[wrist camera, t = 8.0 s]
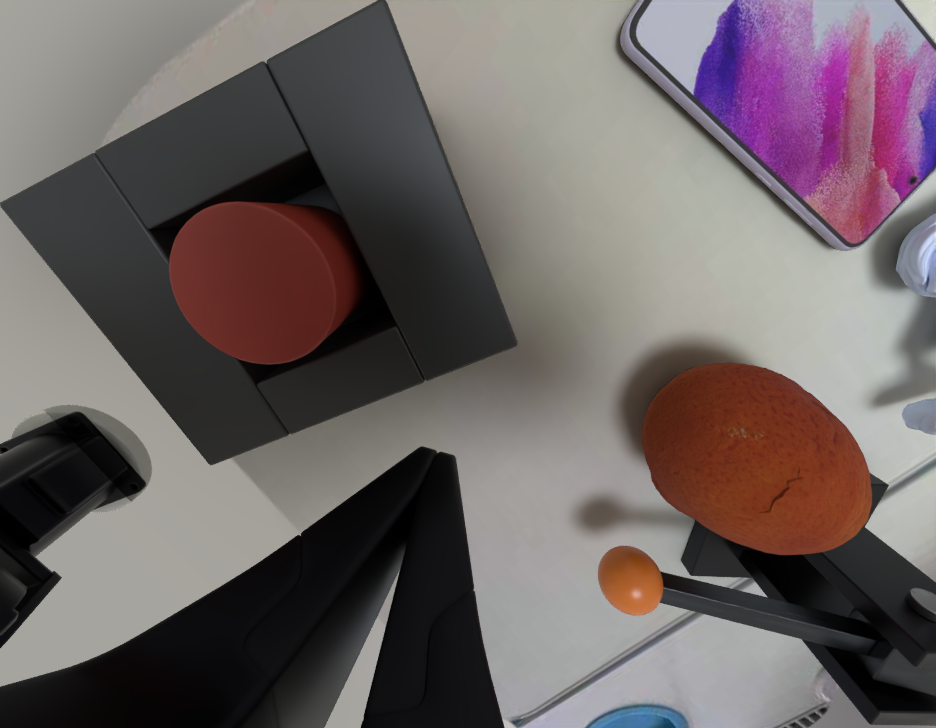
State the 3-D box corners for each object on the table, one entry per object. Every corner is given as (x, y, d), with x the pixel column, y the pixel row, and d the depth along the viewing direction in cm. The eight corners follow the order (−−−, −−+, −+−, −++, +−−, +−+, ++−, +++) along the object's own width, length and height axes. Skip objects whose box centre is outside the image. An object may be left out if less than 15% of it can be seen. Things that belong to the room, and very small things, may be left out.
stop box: (317, 357, 20) (209, 467, 12) (228, 207, 18) (-5, 203, 9) (491, 284, 19) (519, 346, 10) (424, 111, 16) (383, -7, 8)
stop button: (297, 336, 13) (233, 387, 9) (234, 233, 12) (130, 243, 8) (393, 296, 13) (364, 331, 9) (337, 184, 11) (278, 171, 8)
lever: (591, 568, 23) (594, 619, 20) (601, 526, 21) (607, 574, 19) (893, 643, 20) (949, 717, 17) (924, 600, 18) (991, 671, 15)
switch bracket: (680, 561, 26) (796, 743, 17) (715, 465, 24) (876, 625, 14) (818, 565, 27) (1001, 746, 18) (870, 472, 24) (1120, 631, 15)
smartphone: (759, -186, 13) (996, 110, 16) (741, -161, 14) (970, 116, 17) (615, 36, 15) (853, 259, 18) (607, 46, 16) (836, 257, 19)
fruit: (924, 484, 17) (760, 569, 20) (751, 347, 22) (644, 434, 25) (963, 511, 11) (718, 627, 14) (711, 312, 16) (576, 433, 19)
